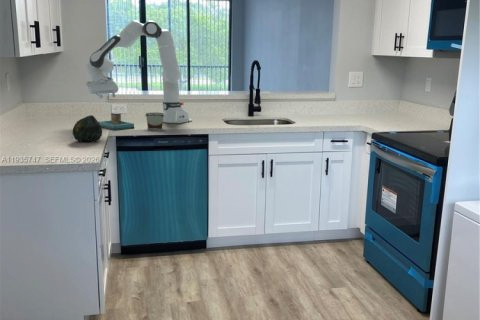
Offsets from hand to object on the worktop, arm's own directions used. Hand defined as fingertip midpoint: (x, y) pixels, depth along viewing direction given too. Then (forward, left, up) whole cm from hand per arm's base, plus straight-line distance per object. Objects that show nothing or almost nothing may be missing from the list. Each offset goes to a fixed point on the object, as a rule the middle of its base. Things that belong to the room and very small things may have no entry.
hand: (108, 97), depth 306 cm
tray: (+2, +12, -18) cm, 22 cm away
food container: (-16, +31, -19) cm, 40 cm away
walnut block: (+2, +12, -17) cm, 21 cm away
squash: (+39, +45, -19) cm, 62 cm away
